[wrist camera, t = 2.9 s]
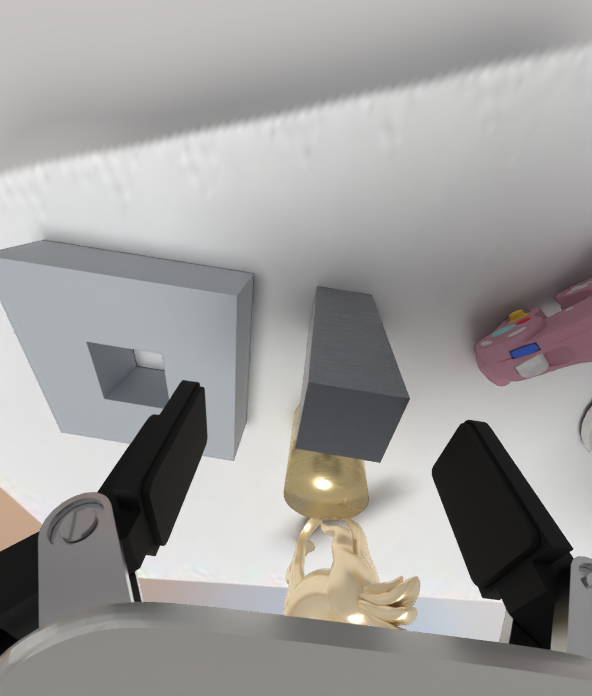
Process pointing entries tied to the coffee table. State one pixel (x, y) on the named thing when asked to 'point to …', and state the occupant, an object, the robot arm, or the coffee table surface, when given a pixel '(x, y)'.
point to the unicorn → (347, 583)
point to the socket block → (129, 337)
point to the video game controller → (539, 339)
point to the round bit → (324, 483)
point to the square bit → (349, 380)
